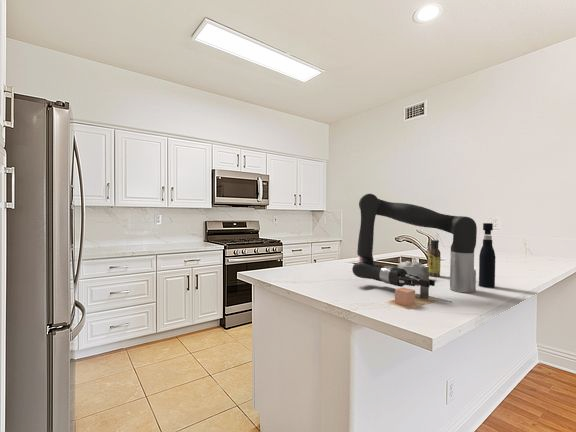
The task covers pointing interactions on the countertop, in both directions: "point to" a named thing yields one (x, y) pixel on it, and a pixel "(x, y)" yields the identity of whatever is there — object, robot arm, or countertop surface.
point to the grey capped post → (424, 293)
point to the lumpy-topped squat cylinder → (411, 267)
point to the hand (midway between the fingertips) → (431, 283)
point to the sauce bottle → (434, 259)
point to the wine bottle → (487, 259)
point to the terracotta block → (405, 296)
